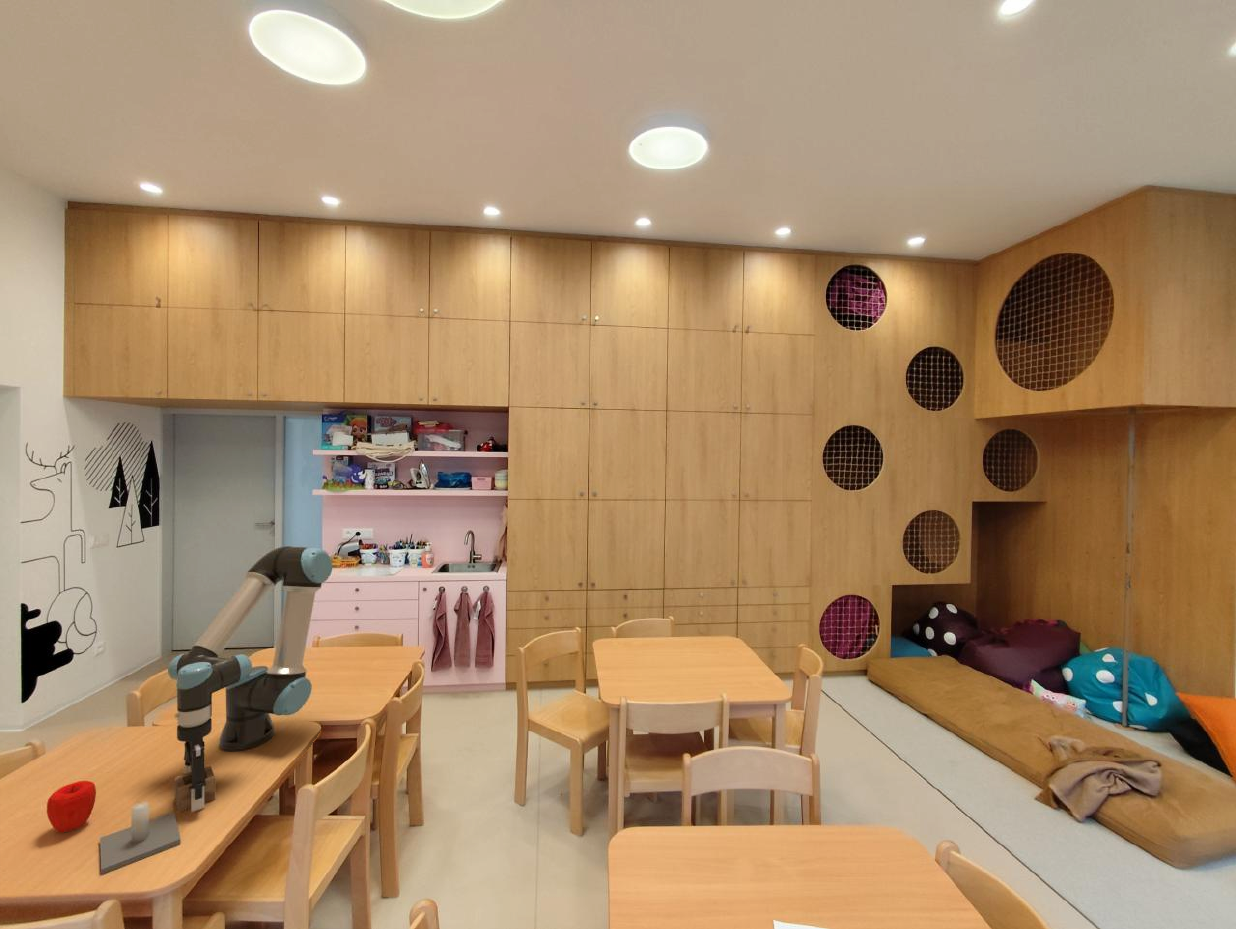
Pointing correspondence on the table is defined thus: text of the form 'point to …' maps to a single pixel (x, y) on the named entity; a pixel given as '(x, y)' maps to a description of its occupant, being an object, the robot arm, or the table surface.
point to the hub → (185, 794)
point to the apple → (71, 805)
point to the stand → (138, 839)
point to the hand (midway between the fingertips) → (194, 798)
